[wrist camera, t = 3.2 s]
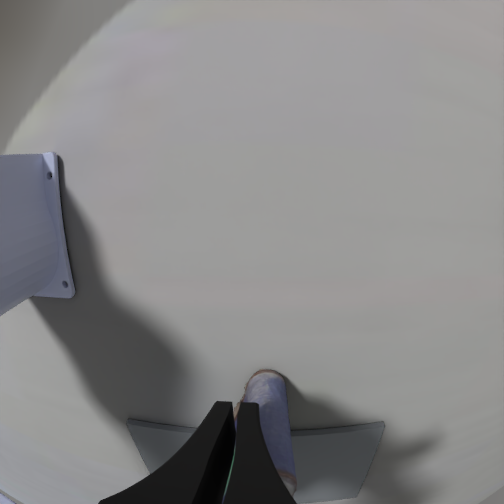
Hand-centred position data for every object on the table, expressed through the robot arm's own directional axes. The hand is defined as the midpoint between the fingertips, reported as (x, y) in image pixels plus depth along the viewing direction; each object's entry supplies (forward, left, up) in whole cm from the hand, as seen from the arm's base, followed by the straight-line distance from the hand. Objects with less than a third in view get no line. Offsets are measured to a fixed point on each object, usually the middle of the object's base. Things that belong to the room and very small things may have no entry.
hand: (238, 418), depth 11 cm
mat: (+14, 0, -7) cm, 16 cm away
